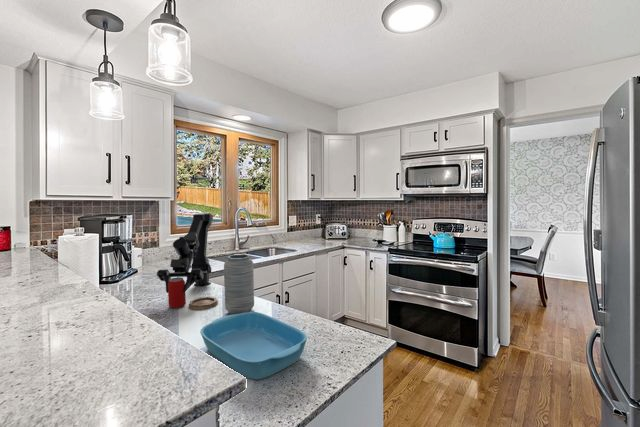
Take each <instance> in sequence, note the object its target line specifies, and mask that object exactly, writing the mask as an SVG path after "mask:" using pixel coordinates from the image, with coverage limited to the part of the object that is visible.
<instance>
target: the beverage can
mask: <svg viewBox="0 0 640 427" xmlns="http://www.w3.org/2000/svg"><path fill="white" fill-rule="evenodd" d="M185 283H186V281H185V279H184V277H171V279H170V281H169V283H168V293H167V294H168V295H167V296H168V307H169V308H172V309H180V308H183V307H184V306H185V305H186V303H187V302H186V299H187V298H186V292H185V293H184V292H183V290H184V286H185Z"/></svg>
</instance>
